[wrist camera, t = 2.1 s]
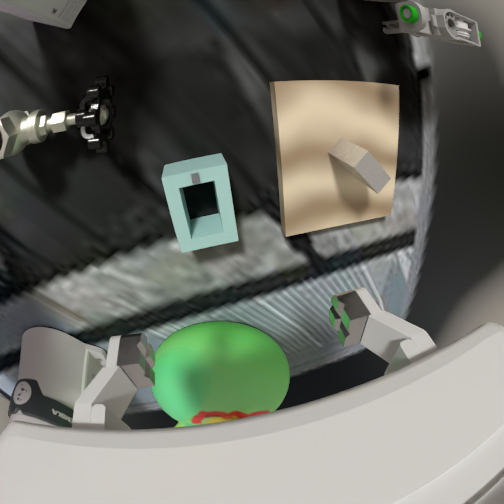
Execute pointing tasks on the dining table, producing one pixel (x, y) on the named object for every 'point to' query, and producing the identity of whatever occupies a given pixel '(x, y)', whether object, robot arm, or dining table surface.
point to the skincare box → (45, 10)
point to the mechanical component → (433, 24)
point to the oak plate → (319, 144)
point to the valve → (62, 122)
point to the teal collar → (187, 230)
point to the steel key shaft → (360, 164)
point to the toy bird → (219, 373)
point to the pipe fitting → (387, 0)
